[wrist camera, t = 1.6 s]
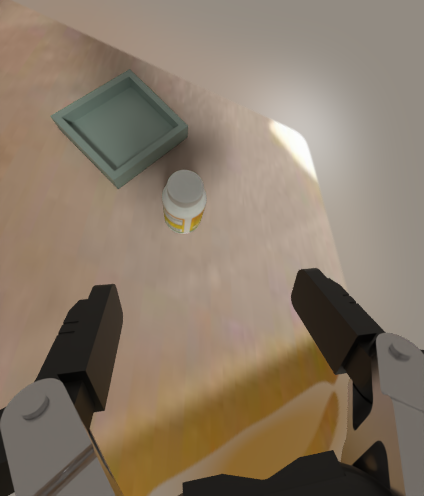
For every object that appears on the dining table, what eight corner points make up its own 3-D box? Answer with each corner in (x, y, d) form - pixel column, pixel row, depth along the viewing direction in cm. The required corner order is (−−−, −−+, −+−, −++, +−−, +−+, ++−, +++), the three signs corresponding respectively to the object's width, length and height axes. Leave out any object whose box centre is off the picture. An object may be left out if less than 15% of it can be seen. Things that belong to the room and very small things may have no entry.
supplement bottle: (167, 237, 33) (163, 212, 24) (162, 202, 34) (156, 166, 25) (204, 231, 34) (213, 205, 25) (197, 198, 35) (204, 161, 26)
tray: (118, 189, 33) (113, 180, 31) (59, 129, 34) (50, 116, 32) (187, 137, 37) (188, 125, 35) (132, 84, 38) (129, 69, 35)
